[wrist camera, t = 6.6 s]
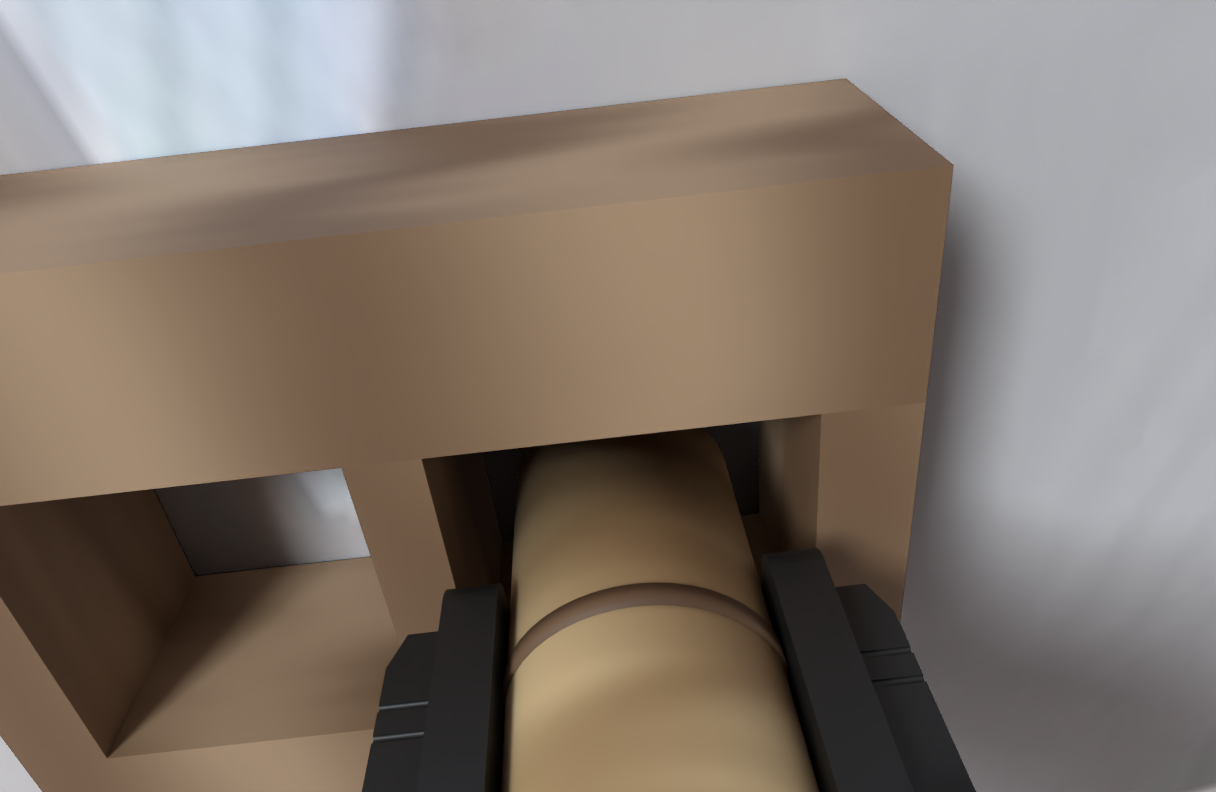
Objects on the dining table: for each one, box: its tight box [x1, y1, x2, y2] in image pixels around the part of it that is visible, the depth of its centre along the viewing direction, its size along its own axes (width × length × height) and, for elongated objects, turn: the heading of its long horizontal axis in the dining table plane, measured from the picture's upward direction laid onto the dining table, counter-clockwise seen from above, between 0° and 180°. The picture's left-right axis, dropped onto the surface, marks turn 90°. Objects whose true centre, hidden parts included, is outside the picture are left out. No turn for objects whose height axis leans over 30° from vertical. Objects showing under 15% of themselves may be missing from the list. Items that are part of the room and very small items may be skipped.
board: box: [0, 79, 954, 792], centre depth 14 cm, size 14×11×4 cm
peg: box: [501, 428, 820, 792], centre depth 10 cm, size 4×4×10 cm
